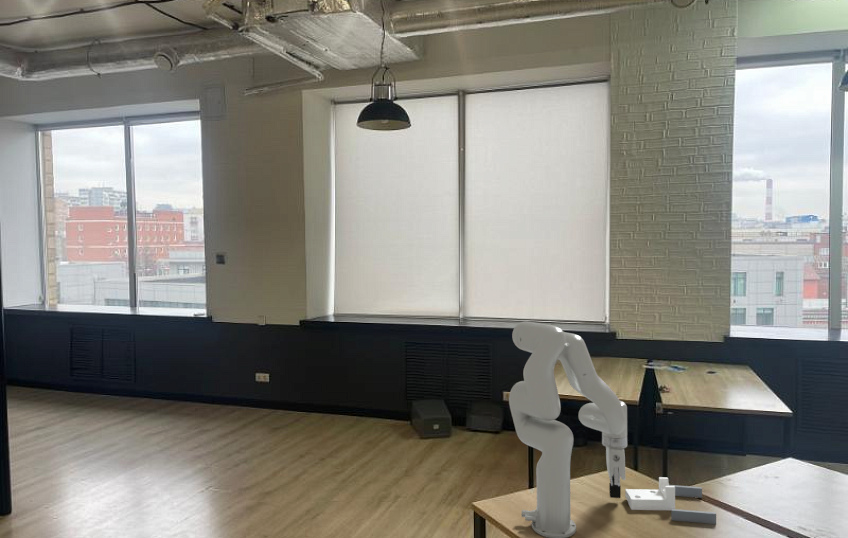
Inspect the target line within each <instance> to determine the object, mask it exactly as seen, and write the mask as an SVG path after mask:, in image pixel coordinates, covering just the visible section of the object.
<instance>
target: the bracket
mask: <svg viewBox="0 0 848 538" xmlns="http://www.w3.org/2000/svg"><path fill="white" fill-rule="evenodd" d="M669 482H670V481H669V478H668V477H662V476H659V477H658V489H644V488H643V489H640V488H638V489H637V488H635V489H634V488H633V489H632V488H631V489H630V488H625V492H624V493H625V499H626V500H627V503H628V504H627V505H628V507H629V508H630V510H631V511H671V509H676V496H675V486H669V485H670V483H669Z"/></svg>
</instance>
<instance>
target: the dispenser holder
mask: <svg viewBox="0 0 848 538" xmlns="http://www.w3.org/2000/svg"><path fill="white" fill-rule="evenodd" d="M669 486H675V497H677V496H678V497H686V498H687V497H688V498H698V499H700V498H701V499H702V498H703V487H701V486H690V485H689V486H688V485H677V484H676V485H674V484H669ZM670 512H671V514H670V515H671V519H670V520H671V521H677V522H689V523H690V522H691V523H697V524H698V523H700V524H701V523H702V524H712V525H716V524H717V513H716V511H703V510H690V509H680V508H679V509H678V508H675V509H671V510H670Z"/></svg>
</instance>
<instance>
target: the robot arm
mask: <svg viewBox="0 0 848 538" xmlns="http://www.w3.org/2000/svg"><path fill="white" fill-rule="evenodd" d="M511 333H512V334H511V335H512V341H513V343H514V345H515V346H516V347H517V348H518V349H519V350H522V351H524V352H528V353H531V355H530V356H529V357H528V359H527V361H526V363H525V365H524V368H523V370H522V371H523V380H521V381H518V382H516V383H514V384H513V386H512V387H511V389H510V391H509V398H508V405H509V410H510V413H511V417H512V420H513V424H514V428H515V433H516V435H517V437H518V439H519V440H520V441H521V442H522V443H523V444H525V445H527V446H529V447H531V448H534V449H536V450H537V451H540V452H541V456H540V458H539V460H538V461H537V464H536V469H535V471H536V472H535V473H536V507H535V509H532V510H527V509H521V518H524V519H525V521H527V522H528V521H530V522H531V528H532V530H533V531H534V532H535V533H537V534H538V535H540V536H542V537H545V538H569V537H572V536H573V535H575V534H576V533H577V532H576V531H577V524H576V523H575V521H574V520H572V518H571V458H572V457H571V456H572V451H573V450H572V449H573V447H574V434H573V432H572V430H571V429H570V427H569V426H568V425H566V424H565V423H563V422H561V421H558V420H556V419H557V418H558V417H559V416H560V413H561V410H562V409H561V408H562V407H561V400H560V396H559V392H558V391H559V390H558V387H557V383H556V378H555V377H556V376H555V366H556V363H557V361H559V362H560V363H561V365H562V368H563V371H564V373H565V375H566V378H567V380H568V383H569V385H570V386H571V388H573V389H574V390H575V391H576V392H577V393H579V394H580V395H582V396H583V397H585V399H588V400H589V401H591V402H589V403H586V404H583V405H582V406H581V407H580V409H579V411H578V416H577V417H578V420H579V421H580V423H581V424H582V425H583V426H584V427H587V428H590V429H592V430H596V431H599V432H601V444H602V446H603V447H605V449H606V450H605V457H606V458H605V459H606V468H607V470H606V471H607V473H608V475H607V476H608V477H609V487H608V488H609V497H610V498H612V499H621V493H622V492H621V490H622V489H621V480H623V481H625V480H626V477H627V476H626V456H625V449H626V448H627V447H628V406H627V404H626V403H625V402H624V401H623V400H620V399H619V397H618V396H617V394H616V393H615V392H614V391H613V390H612V388H611V387H609V385H608V384H607V383H606V382H605V381H604V380H603V379H602V377H600V376H599V375H598V373H597V371H596V369H595V365H594V363H593V361H592V358H591V354H590V353H589V350H588V347H587V345H586V343H585V340H584V339H583V338H582V336H580V335H578V334H575V333H571V332H565V331H564V330H563V329H562V328H560V327H558V326H556V325H551V324H547V323H539V322H533V321H526V320H525V321H521V322H518V323H517V324H516V325H515V326H514V328H513V331H512V332H511Z"/></svg>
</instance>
